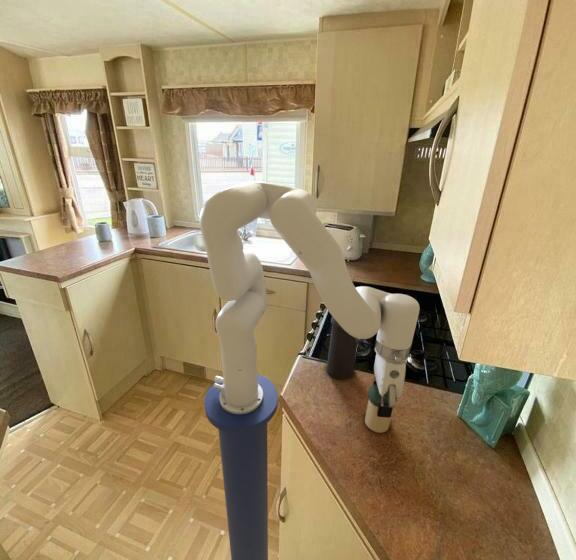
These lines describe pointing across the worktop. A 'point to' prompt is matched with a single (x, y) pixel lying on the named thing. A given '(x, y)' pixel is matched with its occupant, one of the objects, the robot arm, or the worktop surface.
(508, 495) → the worktop surface
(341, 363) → the container
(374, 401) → the jam lid
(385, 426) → the jam jar
